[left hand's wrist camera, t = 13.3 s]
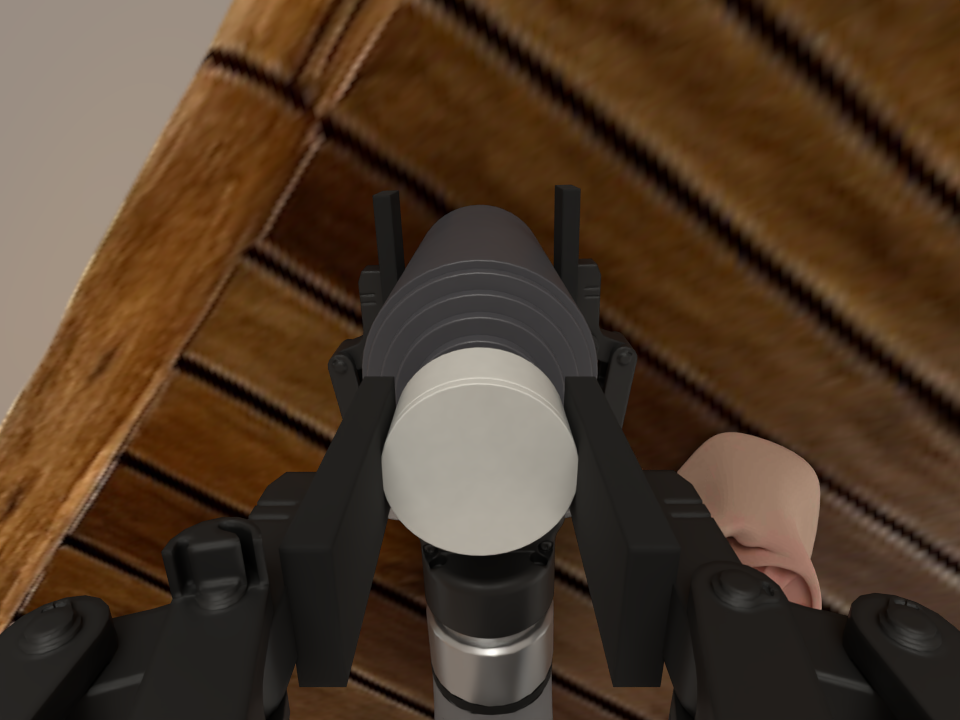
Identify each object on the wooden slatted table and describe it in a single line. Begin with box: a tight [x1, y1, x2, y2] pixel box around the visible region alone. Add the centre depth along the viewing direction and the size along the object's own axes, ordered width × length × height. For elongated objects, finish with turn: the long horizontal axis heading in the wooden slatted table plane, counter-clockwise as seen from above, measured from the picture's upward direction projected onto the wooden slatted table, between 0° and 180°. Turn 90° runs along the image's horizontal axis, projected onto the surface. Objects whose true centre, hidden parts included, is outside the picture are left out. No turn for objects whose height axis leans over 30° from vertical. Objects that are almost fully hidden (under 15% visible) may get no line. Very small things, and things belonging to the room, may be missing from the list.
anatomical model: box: [677, 432, 822, 610], centre depth 37 cm, size 13×4×12 cm
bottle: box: [362, 205, 598, 407], centre depth 23 cm, size 7×7×22 cm
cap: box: [381, 347, 578, 556], centre depth 14 cm, size 4×4×2 cm
